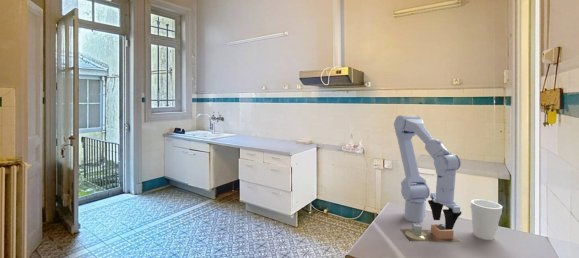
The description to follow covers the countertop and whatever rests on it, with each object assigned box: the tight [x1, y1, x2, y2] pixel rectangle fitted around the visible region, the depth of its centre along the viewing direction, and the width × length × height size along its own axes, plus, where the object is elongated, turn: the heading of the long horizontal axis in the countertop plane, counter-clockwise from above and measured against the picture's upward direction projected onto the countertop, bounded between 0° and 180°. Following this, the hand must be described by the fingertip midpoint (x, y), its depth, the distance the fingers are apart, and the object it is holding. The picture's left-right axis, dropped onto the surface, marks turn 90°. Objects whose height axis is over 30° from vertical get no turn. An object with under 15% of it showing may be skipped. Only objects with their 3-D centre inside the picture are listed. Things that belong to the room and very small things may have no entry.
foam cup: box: [470, 198, 503, 241], centre depth 104 cm, size 10×9×13 cm
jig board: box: [399, 228, 461, 243], centre depth 105 cm, size 18×9×1 cm, turn 90°
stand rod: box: [439, 223, 446, 230], centre depth 104 cm, size 2×2×4 cm
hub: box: [404, 223, 428, 240], centre depth 104 cm, size 8×8×4 cm
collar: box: [430, 223, 454, 239], centre depth 104 cm, size 5×5×3 cm
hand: (442, 224), depth 104 cm, fingers open, 7 cm apart
